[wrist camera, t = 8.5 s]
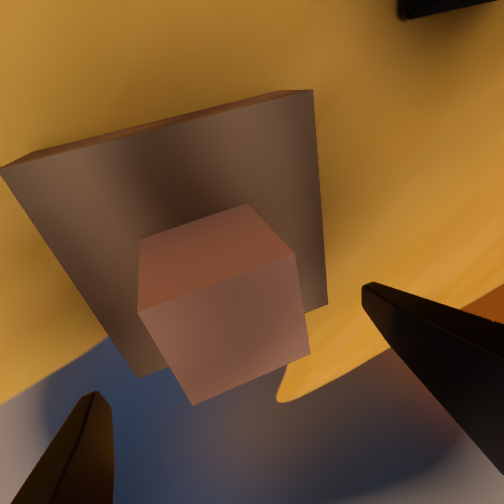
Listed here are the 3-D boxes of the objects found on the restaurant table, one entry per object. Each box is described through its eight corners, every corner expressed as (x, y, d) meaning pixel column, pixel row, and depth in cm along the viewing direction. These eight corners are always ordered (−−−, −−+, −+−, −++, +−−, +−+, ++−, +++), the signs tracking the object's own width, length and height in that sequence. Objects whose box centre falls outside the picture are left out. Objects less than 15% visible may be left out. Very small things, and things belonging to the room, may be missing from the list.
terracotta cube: (247, 203, 13) (294, 253, 9) (267, 285, 16) (310, 353, 12) (139, 239, 12) (137, 312, 8) (179, 319, 15) (192, 406, 11)
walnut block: (276, 90, 15) (312, 89, 12) (299, 271, 21) (328, 304, 18) (35, 150, 13) (-4, 169, 10) (139, 329, 19) (137, 378, 16)
